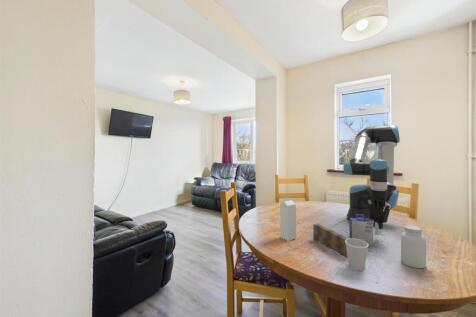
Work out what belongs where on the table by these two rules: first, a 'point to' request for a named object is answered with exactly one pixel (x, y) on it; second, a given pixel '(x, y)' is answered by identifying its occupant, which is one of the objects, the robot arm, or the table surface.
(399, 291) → the table surface
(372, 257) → the table surface
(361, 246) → the dixie cup
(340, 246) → the walnut board
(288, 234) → the milk
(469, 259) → the table surface
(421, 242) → the pill bottle
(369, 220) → the ink cartridge box
